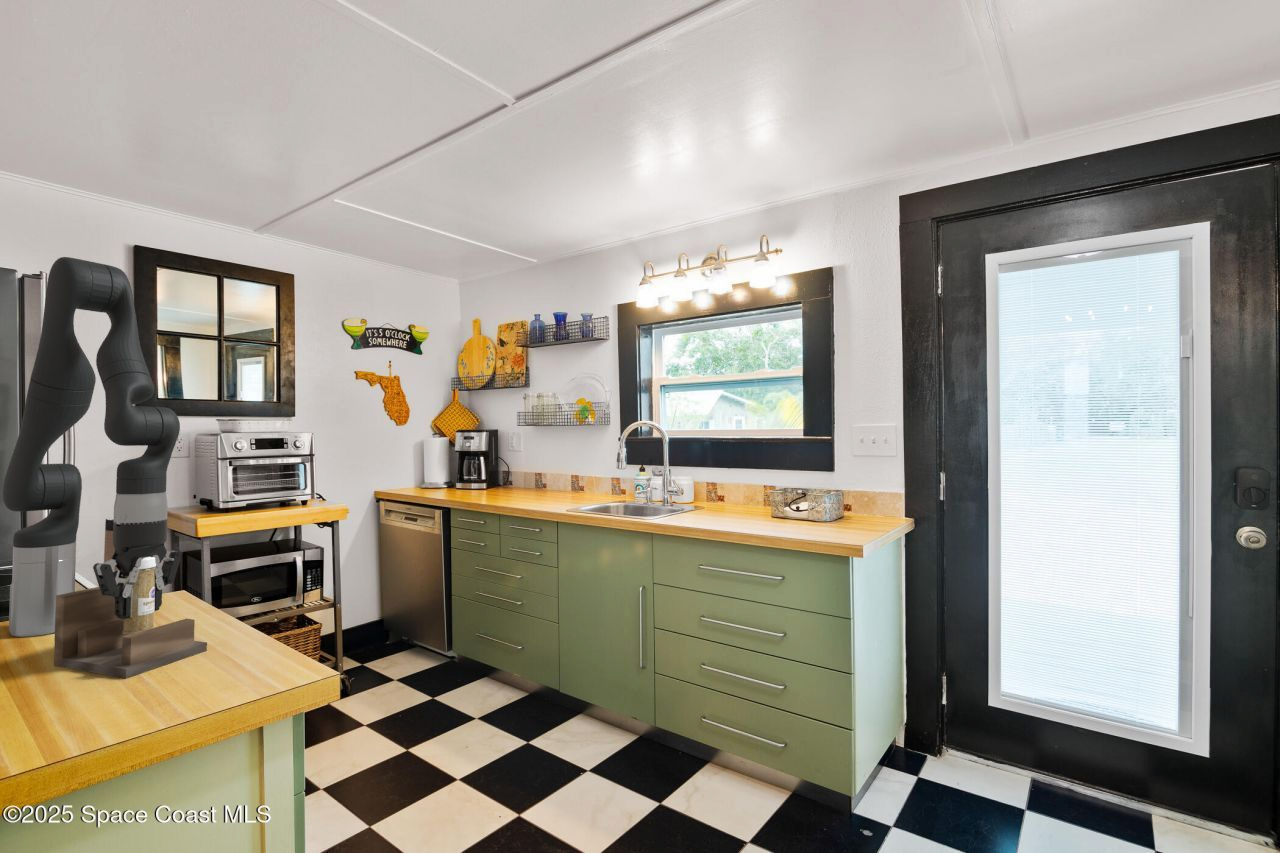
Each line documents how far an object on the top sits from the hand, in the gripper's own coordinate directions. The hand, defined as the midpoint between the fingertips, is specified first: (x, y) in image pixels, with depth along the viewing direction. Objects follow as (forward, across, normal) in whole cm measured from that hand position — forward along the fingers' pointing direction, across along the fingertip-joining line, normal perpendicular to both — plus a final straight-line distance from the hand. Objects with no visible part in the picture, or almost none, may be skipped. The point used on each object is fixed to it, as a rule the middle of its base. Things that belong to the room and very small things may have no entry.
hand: (138, 613), depth 112 cm
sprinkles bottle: (+3, 0, 0) cm, 3 cm away
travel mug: (+8, -23, -37) cm, 44 cm away
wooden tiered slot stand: (+8, 0, 0) cm, 8 cm away
